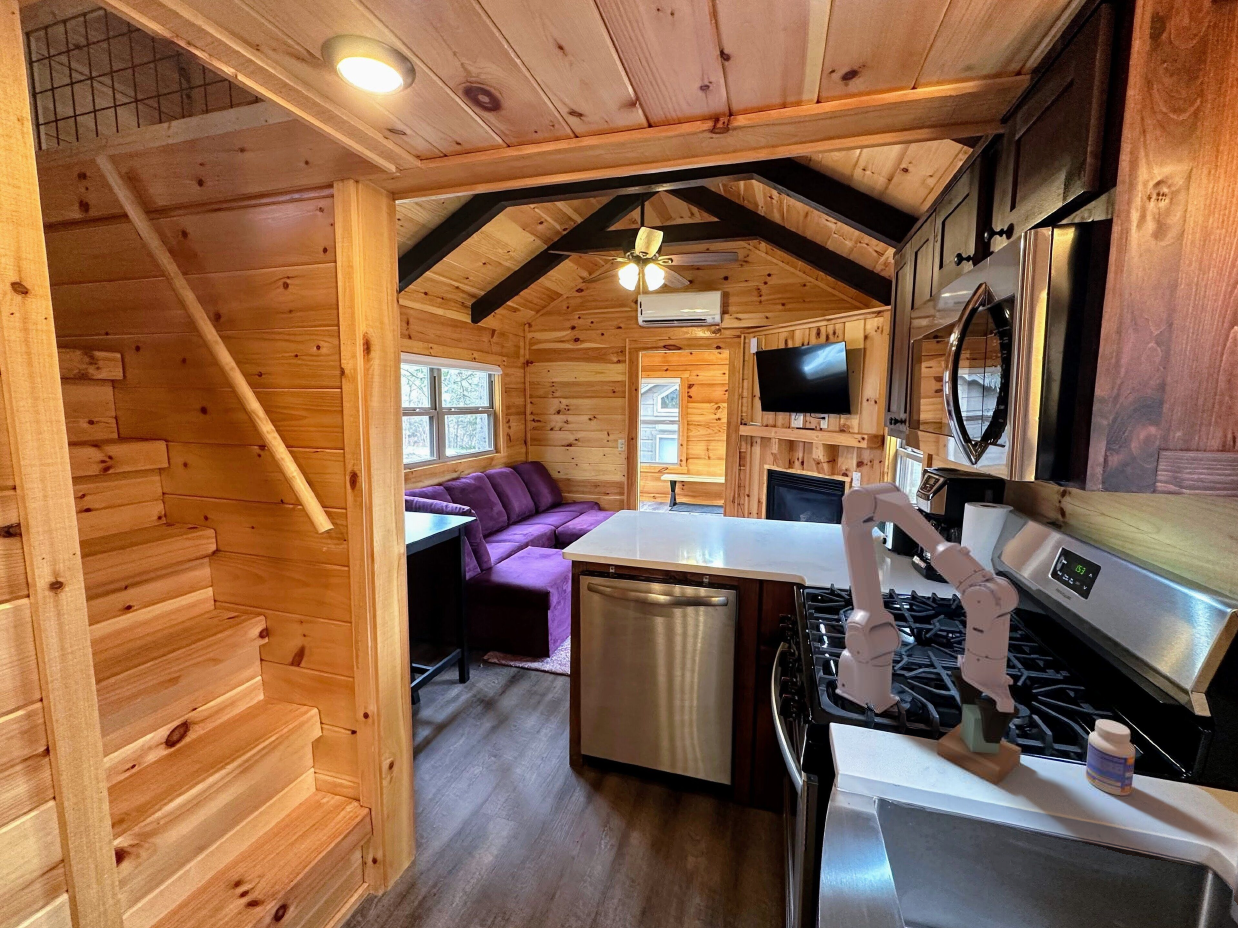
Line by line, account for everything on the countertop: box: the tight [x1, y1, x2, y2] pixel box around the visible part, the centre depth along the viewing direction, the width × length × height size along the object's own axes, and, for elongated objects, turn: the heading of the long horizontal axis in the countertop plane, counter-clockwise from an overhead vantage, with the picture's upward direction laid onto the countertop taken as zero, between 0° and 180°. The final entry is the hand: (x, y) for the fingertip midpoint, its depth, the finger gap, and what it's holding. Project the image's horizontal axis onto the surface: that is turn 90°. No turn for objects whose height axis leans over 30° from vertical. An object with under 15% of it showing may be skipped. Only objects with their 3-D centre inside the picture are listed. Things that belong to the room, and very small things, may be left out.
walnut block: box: [936, 722, 1022, 786], centre depth 91 cm, size 9×9×3 cm
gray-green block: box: [961, 704, 999, 754], centre depth 90 cm, size 4×4×6 cm
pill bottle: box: [1085, 718, 1136, 796], centre depth 84 cm, size 5×5×10 cm
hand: (980, 727), depth 90 cm, fingers open, 7 cm apart
